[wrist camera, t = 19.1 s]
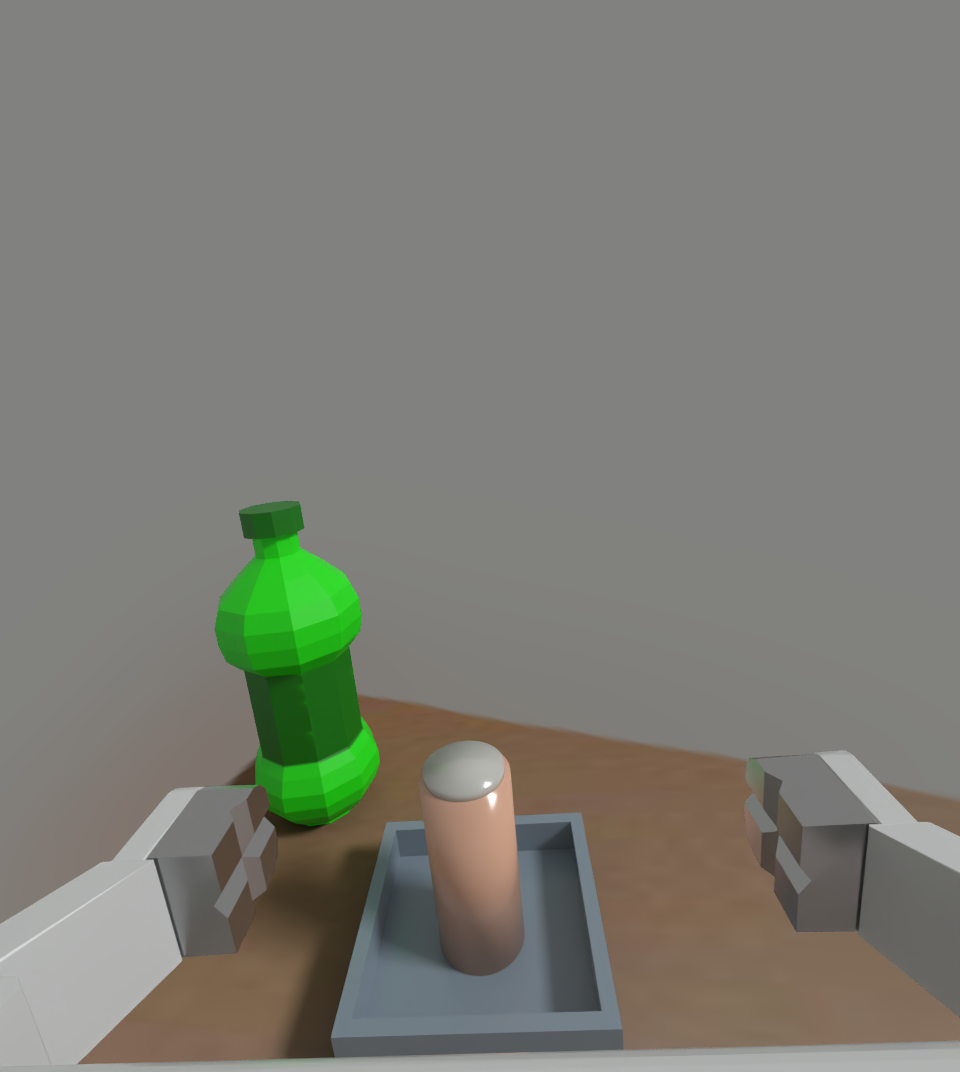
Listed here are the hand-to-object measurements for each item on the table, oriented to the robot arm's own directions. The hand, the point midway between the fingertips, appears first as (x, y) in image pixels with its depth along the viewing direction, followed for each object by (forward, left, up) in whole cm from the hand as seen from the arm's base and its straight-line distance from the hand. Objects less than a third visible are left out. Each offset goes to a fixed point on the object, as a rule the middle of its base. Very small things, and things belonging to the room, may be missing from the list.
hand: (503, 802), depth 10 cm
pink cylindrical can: (-3, +18, -24) cm, 30 cm away
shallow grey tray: (-3, +18, -25) cm, 31 cm away
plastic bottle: (-17, +31, -25) cm, 43 cm away
